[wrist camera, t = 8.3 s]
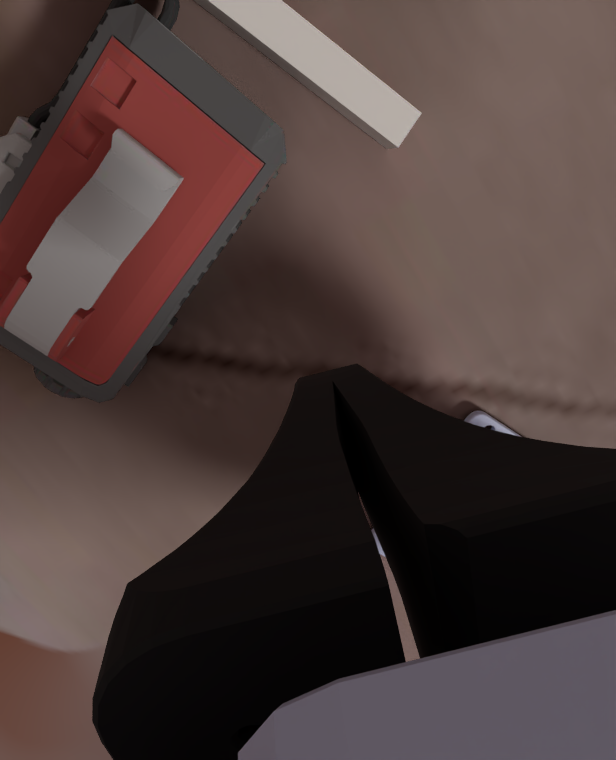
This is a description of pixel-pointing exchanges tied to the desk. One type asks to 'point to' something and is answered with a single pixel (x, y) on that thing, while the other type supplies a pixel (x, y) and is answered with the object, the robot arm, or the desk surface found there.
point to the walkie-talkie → (122, 201)
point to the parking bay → (319, 66)
